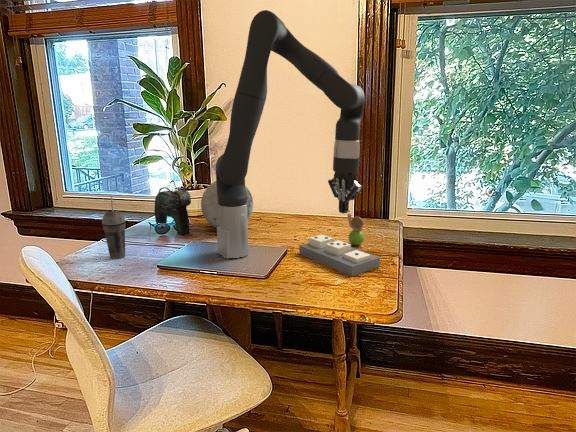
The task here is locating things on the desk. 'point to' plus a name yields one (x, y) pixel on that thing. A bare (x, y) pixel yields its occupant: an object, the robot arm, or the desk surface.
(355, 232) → the snail figurine
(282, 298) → the desk surface
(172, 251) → the desk surface
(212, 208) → the moon model
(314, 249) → the socket board
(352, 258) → the tile one dot
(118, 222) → the beverage cup
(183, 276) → the desk surface
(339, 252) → the tile three dots
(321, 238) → the tile two dots
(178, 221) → the dark animal figurine
